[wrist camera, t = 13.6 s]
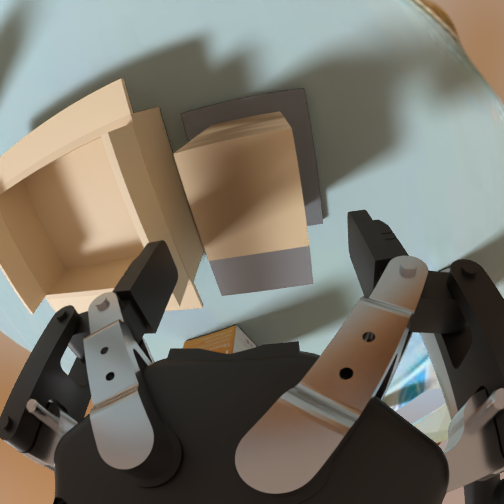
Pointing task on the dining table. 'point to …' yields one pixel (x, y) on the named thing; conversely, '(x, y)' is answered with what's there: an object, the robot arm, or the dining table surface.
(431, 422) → the dining table surface
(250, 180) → the block
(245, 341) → the small box
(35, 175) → the carton
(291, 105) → the slate mat
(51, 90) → the dining table surface
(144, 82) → the dining table surface
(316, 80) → the dining table surface
